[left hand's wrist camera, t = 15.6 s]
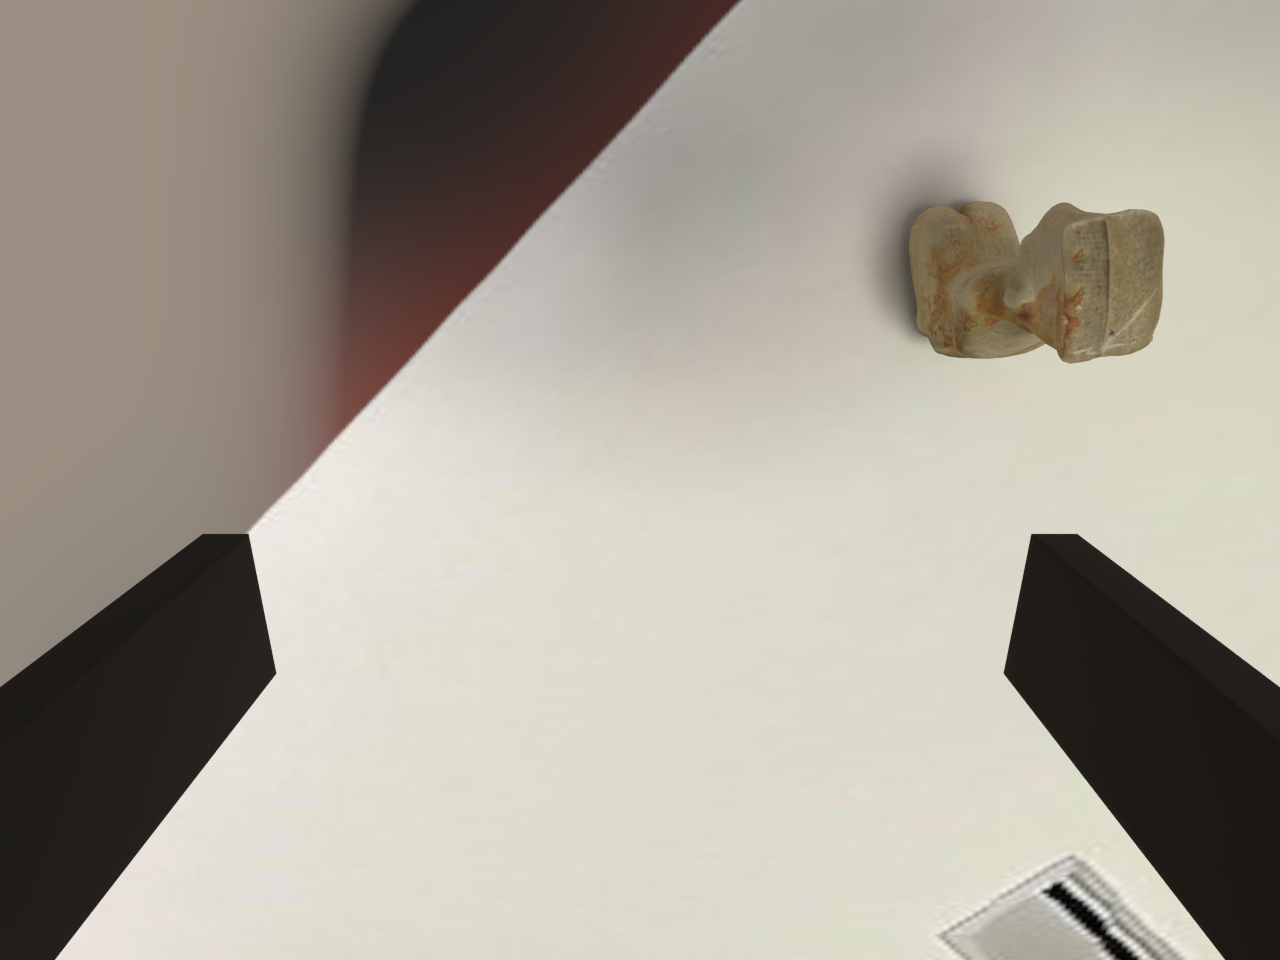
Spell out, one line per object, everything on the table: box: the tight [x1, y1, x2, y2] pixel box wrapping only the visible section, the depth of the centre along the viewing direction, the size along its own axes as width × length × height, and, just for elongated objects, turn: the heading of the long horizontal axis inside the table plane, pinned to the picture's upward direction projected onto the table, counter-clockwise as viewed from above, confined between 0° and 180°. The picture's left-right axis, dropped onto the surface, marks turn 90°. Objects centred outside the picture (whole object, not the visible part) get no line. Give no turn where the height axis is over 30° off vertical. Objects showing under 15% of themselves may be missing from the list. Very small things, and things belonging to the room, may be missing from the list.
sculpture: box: [909, 202, 1164, 363], centre depth 32 cm, size 6×7×15 cm
